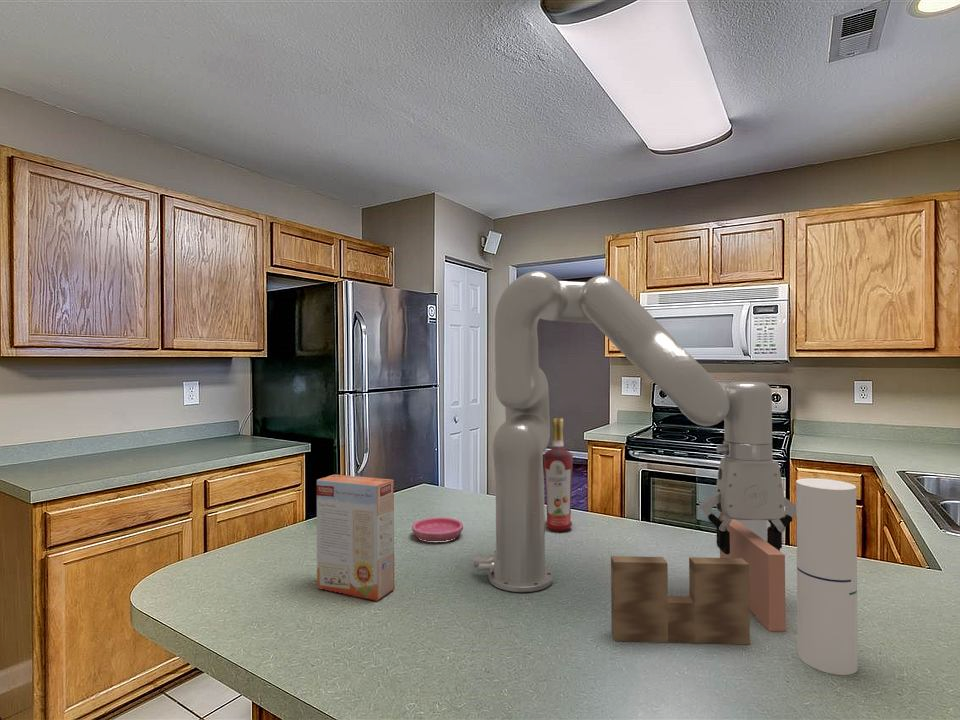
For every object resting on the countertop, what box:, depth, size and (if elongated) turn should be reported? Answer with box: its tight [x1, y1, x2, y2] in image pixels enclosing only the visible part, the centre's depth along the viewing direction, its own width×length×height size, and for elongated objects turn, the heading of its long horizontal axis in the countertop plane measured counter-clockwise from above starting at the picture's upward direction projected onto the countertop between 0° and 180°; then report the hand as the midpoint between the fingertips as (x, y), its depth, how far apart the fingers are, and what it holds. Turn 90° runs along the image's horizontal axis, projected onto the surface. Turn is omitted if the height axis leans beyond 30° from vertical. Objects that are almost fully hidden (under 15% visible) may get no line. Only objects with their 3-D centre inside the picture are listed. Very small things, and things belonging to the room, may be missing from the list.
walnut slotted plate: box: [610, 555, 751, 645], centre depth 82 cm, size 20×2×12 cm, turn 86°
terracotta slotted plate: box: [719, 519, 787, 632], centre depth 94 cm, size 20×2×12 cm, turn 176°
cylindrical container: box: [795, 477, 859, 676], centre depth 76 cm, size 7×7×25 cm
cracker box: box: [316, 474, 395, 602], centre depth 100 cm, size 14×6×21 cm, turn 65°
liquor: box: [543, 417, 574, 533], centre depth 136 cm, size 7×7×28 cm
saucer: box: [411, 516, 464, 541], centre depth 130 cm, size 12×12×3 cm
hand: (748, 551), depth 94 cm, fingers open, 7 cm apart
